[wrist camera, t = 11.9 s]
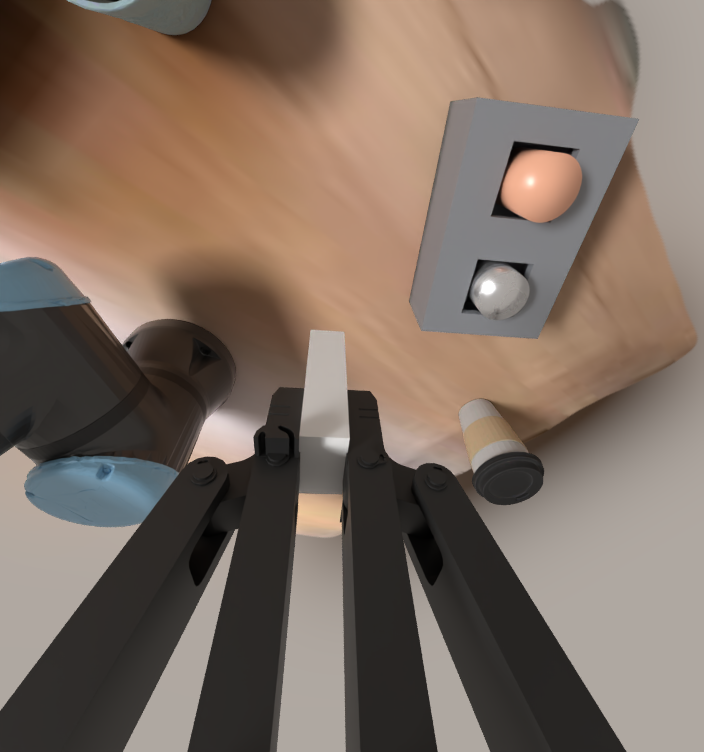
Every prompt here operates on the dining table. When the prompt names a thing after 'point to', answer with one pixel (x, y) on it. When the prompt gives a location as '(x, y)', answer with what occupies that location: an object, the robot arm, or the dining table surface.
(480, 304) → the silver rounded piece
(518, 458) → the coffee cup
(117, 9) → the drinking glass
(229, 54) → the dining table surface
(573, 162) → the brown egg
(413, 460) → the dining table surface
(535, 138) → the block with square holes
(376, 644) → the robot arm
